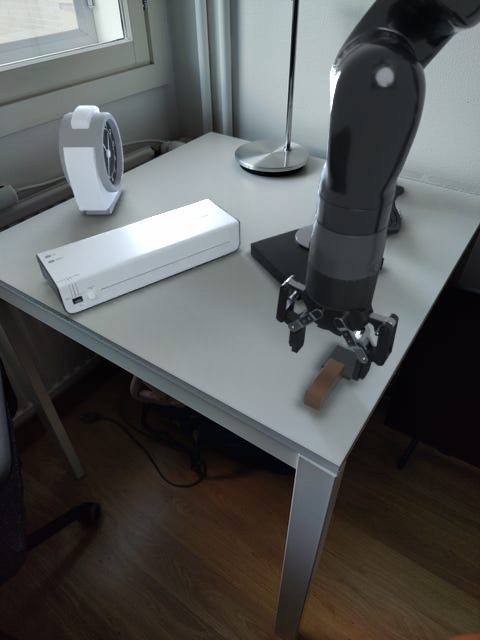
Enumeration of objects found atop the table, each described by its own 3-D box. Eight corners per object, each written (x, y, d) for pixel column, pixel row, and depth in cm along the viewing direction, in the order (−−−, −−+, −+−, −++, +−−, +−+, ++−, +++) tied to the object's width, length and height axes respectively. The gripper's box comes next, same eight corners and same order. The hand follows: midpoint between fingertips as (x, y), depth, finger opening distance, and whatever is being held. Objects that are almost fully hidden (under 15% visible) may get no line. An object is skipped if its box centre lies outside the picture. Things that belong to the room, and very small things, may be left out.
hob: (328, 229, 93) (330, 218, 92) (386, 272, 82) (389, 260, 80) (250, 254, 87) (250, 242, 85) (301, 304, 76) (302, 292, 74)
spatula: (336, 346, 68) (338, 334, 67) (364, 358, 66) (367, 345, 65) (296, 400, 61) (298, 387, 59) (326, 415, 59) (329, 402, 57)
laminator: (210, 225, 95) (208, 198, 91) (244, 252, 88) (243, 223, 84) (45, 283, 81) (34, 253, 77) (69, 321, 74) (58, 290, 69)
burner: (324, 222, 91) (325, 220, 91) (354, 243, 85) (354, 241, 85) (286, 233, 88) (286, 232, 87) (313, 256, 82) (313, 255, 82)
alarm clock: (114, 222, 97) (92, 123, 84) (74, 223, 97) (45, 124, 84) (131, 185, 110) (114, 94, 97) (96, 185, 111) (74, 94, 97)
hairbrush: (419, 180, 103) (396, 227, 86) (415, 195, 106) (392, 244, 88) (382, 174, 106) (353, 218, 89) (379, 189, 108) (350, 235, 91)
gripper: (424, 261, 47) (390, 367, 58) (302, 221, 54) (292, 324, 64) (397, 299, 43) (366, 407, 54) (268, 251, 49) (263, 356, 60)
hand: (326, 362), depth 59 cm, fingers open, 8 cm apart
